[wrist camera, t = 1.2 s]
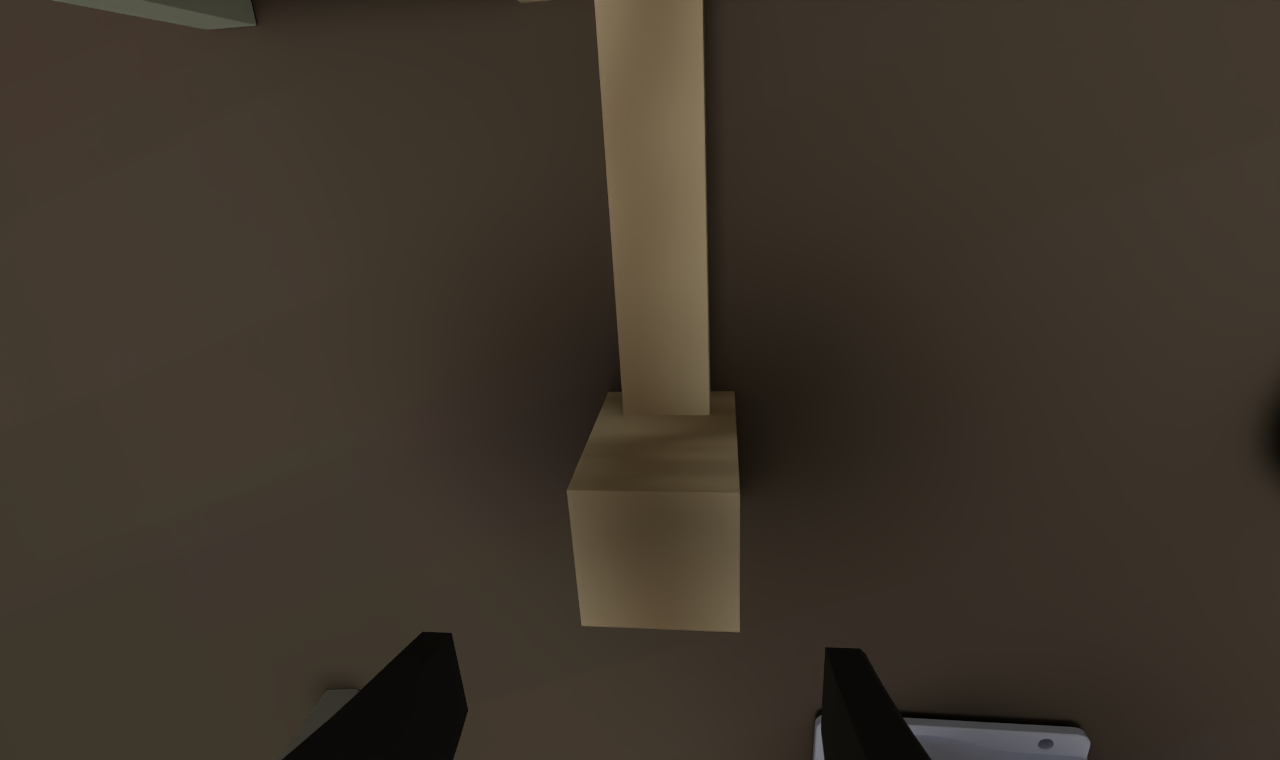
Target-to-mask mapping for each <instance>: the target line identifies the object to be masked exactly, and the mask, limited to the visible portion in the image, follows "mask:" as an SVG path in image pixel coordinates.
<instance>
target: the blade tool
mask: <svg viewBox="0 0 1280 760" xmlns="http://www.w3.org/2000/svg"><path fill="white" fill-rule="evenodd" d="M517 1H519V2H520V3H526V2H537V1H549V0H517ZM594 1H595V15H596V29H597V44H598V58H599V72H600V86H601V100H602V115H603V129H604V143H605V157H606V172H607V186H608V200H609V214H610V228H611V243H612V257H613V271H614V285H615V300H616V314H617V328H618V342H619V356H620V371H621V385H622V392H608V394H607V396H606V399H605V401H604V403H603V406H602V408H601V410H600V413H599V415H598V418H597V420H596V422H595V425H594V427H593V429H592V432H591V434H590V436H589V439H588V441H587V444H586V446H585V448H584V451H583V453H582V455H581V458H580V460H579V462H578V465H577V467H576V470H575V472H574V474H573V477H572V479H571V481H570V484H569V486H568V488H567V497H568V506H569V515H570V524H571V533H572V542H573V551H574V560H575V569H576V578H577V587H578V596H579V605H580V614H581V623H582V626H600V627H624V628H648V629H672V630H695V631H719V632H740V484H739V466H738V447H737V428H736V409H735V391H710V336H709V274H708V211H707V148H706V86H705V23H704V0H594Z"/></svg>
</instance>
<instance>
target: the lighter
mask: <svg viewBox="0 0 1280 760" xmlns="http://www.w3.org/2000/svg"><path fill="white" fill-rule="evenodd" d="M358 692H359V690H358V689H335V690H326V691H325V693H324V694H323V695H322V697H321V698H320V700H319V701H318V703H317V704H316V705H315V707H314V708H313V710H312V711H311V713H310V714H309V716H308V717H307V718H306V720H305V721H304V723H303V724H302V726H301V727H300V729H299V730H298V731H297V733H296V734H295V736H294V737H293V739H292V740H291V741H290V743H289V744H288V746H287V747H286V749H285V750H284V752H283V753H282V754H281V756H280V757H279V759H278V760H282V759H283V758H284V757H285V756H286V755H288V754H289V753H290V752H291V751H292V750H293V749H295V748H296V747H297V746H298V745H299V744H301V743H302V742H303V741H304V740H305V739H306V738H308V737H309V736H310V735H311V734H312V733H313V732H315V731H316V730H317V729H318V728H319V727H320V726H322V725H323V724H324V723H325V722H326V721H327V720H329V719H330V718H331V717H332V716H333V715H334V714H335V713H336V712H337V711H338V710H340V709H341V708H342V707H343V706H344V705H345V704H346V703H347V702H348V701H349V700H350V699H352V698H353V697H354V696H355V695H356V694H357V693H358Z"/></svg>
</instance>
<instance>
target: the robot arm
mask: <svg viewBox="0 0 1280 760" xmlns="http://www.w3.org/2000/svg"><path fill="white" fill-rule="evenodd" d="M467 712H468V708H467V703H466V698H465V694H464V689H463V684H462V680H461V675H460V670H459V665H458V661H457V656H456V651H455V647H454V642H453V637H452V633H438V632H422V633H421V634H420V635H419V636H418V637H417V638H415V639H414V640H413V641H412V642H411V643H410V644H409V645H408V646H407V647H406V648H405V649H404V650H403V651H402V652H401V653H399V654H398V655H397V656H396V657H395V658H394V659H393V660H392V661H391V662H390V663H389V664H388V665H387V666H386V667H385V668H384V669H383V670H382V671H380V672H379V673H378V674H377V675H376V676H375V677H374V678H373V679H372V680H371V681H370V682H369V683H368V684H367V685H366V686H365V687H363V688H362V689H361V690H360V691H359V692H358V693H357V694H356V695H355V696H354V697H353V698H352V699H350V700H349V701H348V702H347V703H346V704H345V705H344V706H343V707H342V708H341V709H340V710H338V711H337V712H336V713H335V714H334V715H333V716H332V717H331V718H330V719H329V720H327V721H326V722H325V723H324V724H323V725H322V726H320V727H319V728H318V729H317V730H316V731H315V732H313V733H312V734H311V735H310V736H309V737H308V738H306V739H305V740H304V741H303V742H302V743H301V744H299V745H298V746H297V747H296V748H295V749H293V750H292V751H291V752H290V753H289V754H288V755H286V756H285V757H284V758H283V759H282V760H453V758H454V755H455V752H456V749H457V745H458V742H459V739H460V736H461V732H462V729H463V726H464V722H465V719H466V715H467ZM1089 749H1090V740H1089V739H1088V737H1087V735H1086V734H1085V732H1084V731H1083V730H1081V729H1080V728H1075V727H1064V726H1046V725H1028V724H1010V723H992V722H974V721H956V720H938V719H920V718H903V717H902V715H901V714H900V712H899V711H898V709H897V707H896V706H895V704H894V703H893V701H892V699H891V698H890V696H889V695H888V693H887V691H886V690H885V688H884V686H883V685H882V683H881V681H880V679H879V678H878V676H877V674H876V672H875V671H874V669H873V667H872V665H871V663H870V662H869V660H868V658H867V656H866V654H865V653H864V652H863V651H862V650H861V649H854V648H828V647H825V664H824V681H823V698H822V715H820V716H819V717H818V718H817V719H816V721H815V731H814V748H813V760H1088V759H1087V756H1088V752H1089Z"/></svg>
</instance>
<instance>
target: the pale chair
mask: <svg viewBox="0 0 1280 760" xmlns="http://www.w3.org/2000/svg"><path fill="white" fill-rule="evenodd" d="M54 1H59V2H64V3H69V4H75V5H80V6H85V7H90V8H96V9H101V10H106V11H111V12H117V13H122V14H127V15H132V16H138V17H143V18H148V19H153V20H159V21H164V22H169V23H174V24H180V25H185V26H190V27H195V28H201V29H206V30H210V29H222V28H233V27H245V26H256V25H257V24H256V20H255V16H254V12H253V8H252V4H251V0H54Z"/></svg>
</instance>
